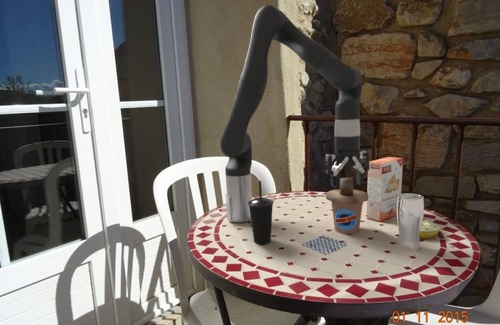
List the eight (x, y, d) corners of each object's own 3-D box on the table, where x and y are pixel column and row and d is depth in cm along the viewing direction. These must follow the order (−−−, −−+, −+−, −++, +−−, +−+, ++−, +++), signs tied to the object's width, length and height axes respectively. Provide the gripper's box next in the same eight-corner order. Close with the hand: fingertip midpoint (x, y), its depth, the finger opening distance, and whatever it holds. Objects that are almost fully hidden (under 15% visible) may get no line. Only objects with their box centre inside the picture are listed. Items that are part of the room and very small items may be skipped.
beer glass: (425, 252, 93) (427, 200, 90) (398, 251, 94) (399, 199, 92) (418, 242, 99) (420, 193, 97) (393, 241, 101) (394, 193, 98)
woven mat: (298, 250, 99) (298, 243, 99) (322, 240, 105) (322, 234, 105) (326, 262, 91) (326, 255, 91) (350, 251, 97) (350, 244, 97)
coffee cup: (327, 237, 106) (327, 201, 104) (332, 226, 115) (332, 192, 113) (362, 241, 102) (362, 203, 100) (364, 229, 111) (365, 194, 109)
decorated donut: (445, 233, 105) (445, 222, 105) (430, 243, 99) (430, 231, 98) (411, 225, 113) (412, 214, 113) (395, 234, 107) (395, 222, 106)
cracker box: (381, 222, 117) (382, 163, 113) (365, 218, 121) (366, 161, 118) (401, 213, 125) (403, 157, 121) (386, 209, 130) (387, 156, 126)
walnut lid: (338, 205, 99) (338, 185, 98) (318, 194, 111) (318, 177, 110) (377, 200, 102) (377, 181, 101) (353, 190, 114) (353, 173, 113)
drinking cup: (257, 252, 98) (254, 185, 94) (245, 243, 105) (242, 180, 101) (279, 246, 101) (277, 181, 98) (267, 238, 108) (264, 177, 105)
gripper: (360, 131, 108) (360, 181, 111) (320, 134, 105) (320, 185, 108) (375, 133, 101) (374, 186, 104) (331, 136, 98) (332, 191, 101)
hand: (346, 185), depth 106 cm, fingers open, 8 cm apart
